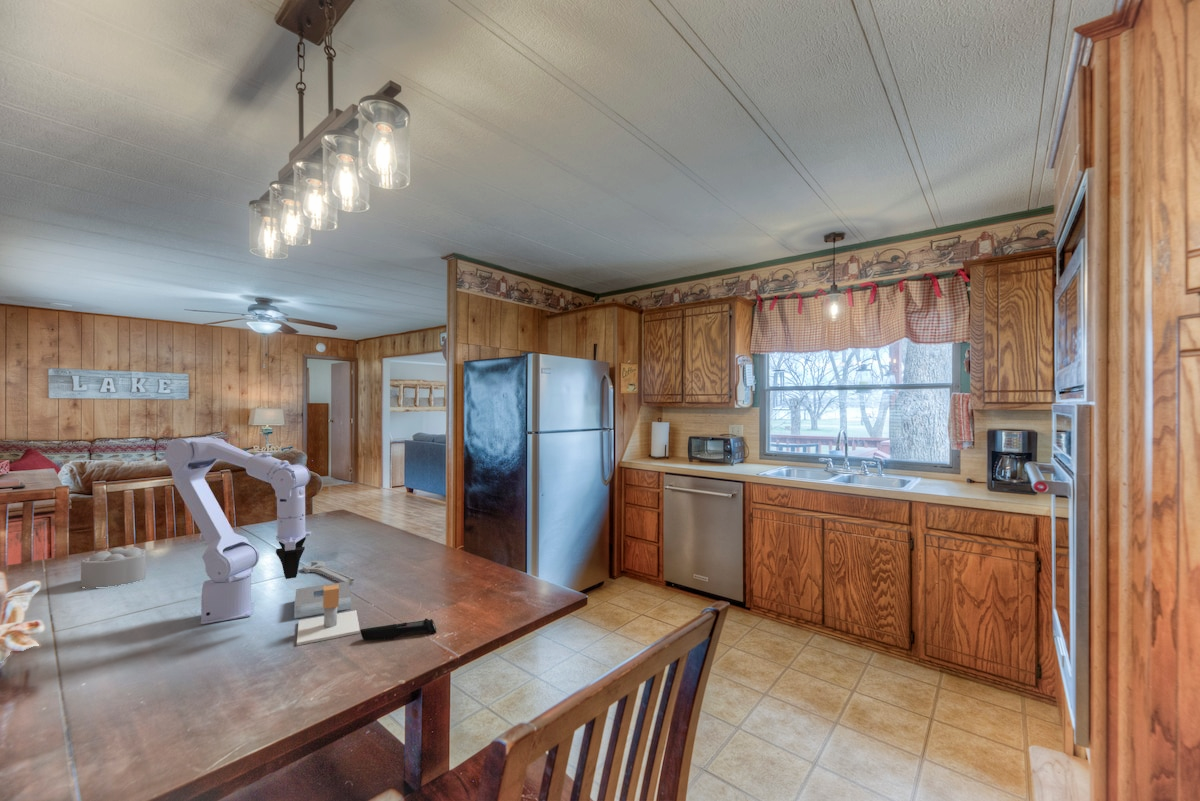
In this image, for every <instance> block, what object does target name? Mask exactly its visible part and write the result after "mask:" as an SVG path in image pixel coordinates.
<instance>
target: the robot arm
mask: <svg viewBox="0 0 1200 801" xmlns="http://www.w3.org/2000/svg"><path fill="white" fill-rule="evenodd" d="M163 458H164V460H165V462H166V464H167V466H168V468H169V470H170V472H171V477H172V481H173V483H174V486H175V488H176V490H177V491H178V493H179V496H180V497H181V498H182V500H183V502H184V504H185V506H186V508H187V509H188V511H189V513H190V515H191V517H192V519H193V521H194V522H195V524H196V526H197V527H198V530H199V531H200V533H201V535H202V537H203V538H204V540H205V542H206V544H207V547H206V549H205V551H204V552H203V555H202V556H201V557H202V559H203V561H204V565H205V568H204V569H205V570H204V571H205V573H206V575H207V577H208V578H209V579H207V580H205V581H203V583H202V588H201V603H200V604H201V609H200V610H201V613H200V614H201V615H200V618H201V620H200V625H206V624H211V623H218V622H225V621H230V620H236V619H241V618H248V617H251V616H252V614H253V610H254V607H255V602H252V573H253V572H254V568H255V567H256V566H257V564H258V563H259V560H260V552H259V550H258V548H257V547H255V545H253V544H251V542H249V540H248V538H247V537H246V536H243V535H241V534H237V533H235V531H234V530H233V527H232V526H231V524H230V523H229V520H228V519H227V517H226V515H225V513H224V512H223V509H222V507H221V506H220V503H219V502H218V500H217V499H216V497H215V495H214V493H213V491H212V490H211V488H210V486H209V484H208V482H207V481H206V479H205V477H206V475H207V473H209V471H211V469H212V467H214V465H215V464H216V463H217V461H218V460H219V461H223V462H225V463H228V464H232V465H235V466H238V467H242V468H244V469H245V470H246V471H245V472H246V474H247V475H248V476H250V477H253V478H255V479H258V480H260V481H263V482H266V483H268V484H271V488H272V489H273V490H274V492H275V493H274V495H275V497H276V516H277V517H276V524H277V525H276V527H277V528H276V534H277V535H276V537H275V539H276V541H278V544H279V546H280V547H281V548H276V550H275V554H276V556H277V557H278V559H279V561H280V563H281V566H282V571H283V574H284V578H285V579H286V580H287V579H288V580H289V579H296V578H297V576H298V572H299V565H300V560H301V557H302V556H303V552H304V551H305V549H306V546H303V545H304V544H305V541H306V539H307V537H310V536H311V535H312V531H306V486H307V485H308V484H309V482H310V480H311V472H310V470H309V468H308V467H307V466H306V465H304V464H303V463H294V464H291V463H290V461H288V460H282V459H279V458H276V457H273V456H272V453H271V452H263V453H262V452H259V453H256V454H253V453H249V452H248V451H246V450H244V449H241V448H239V447H236V446H235V445H232V444H231V443H228V442H227V441H226V440H225V439H223V438H218V437H216V436H213V435H207V436H202V437H189V438H181V437H180V438H175V439H173V440H171V441H169V443H168V444H167V446H166V449H165V452H164V454H163Z"/></svg>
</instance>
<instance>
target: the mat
mask: <svg viewBox="0 0 1200 801" xmlns="http://www.w3.org/2000/svg"><path fill="white" fill-rule="evenodd" d="M358 617H359V616H358V612H357V610H356V609H355V610H350V611H344V612H340V613H338V612H337V625H336V626H333V627H329V628H326V627H324V615H323V616H316V617H312V618H306V619H299V620H298V624H297V625H298V626H297V635H296V636H297V637H296V646H297V647H298V646H302V645H308V644H312V643H316V642H323V641H327V640H332V639H338V638H341V637H347V636H353V635H357V634H361V632H360V630H361V629H360V623H359V618H358Z"/></svg>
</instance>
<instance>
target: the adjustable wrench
mask: <svg viewBox="0 0 1200 801" xmlns="http://www.w3.org/2000/svg"><path fill="white" fill-rule="evenodd" d="M303 571H304V572H303ZM302 572H303V573H304V574H311V573H310V572H316V574H319V575H322V574H323V576H324V575H325V577H326V576H327V577H326V578H329V577H330V578H329V579H331V578H332V579H331V580H333V579H334V580H333V581H335V580H336V582H338V581H339V582H338V583H340V582H346V581H349V586H353V585H355V584H356V578H353V577H351V576H349V575H346V574H345V573H341V572H339V571H336V570H333V569H331V568H329V567H326V561H322V560H315V561H311V565H310V564H309V565H307V564H303V565H302Z"/></svg>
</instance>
